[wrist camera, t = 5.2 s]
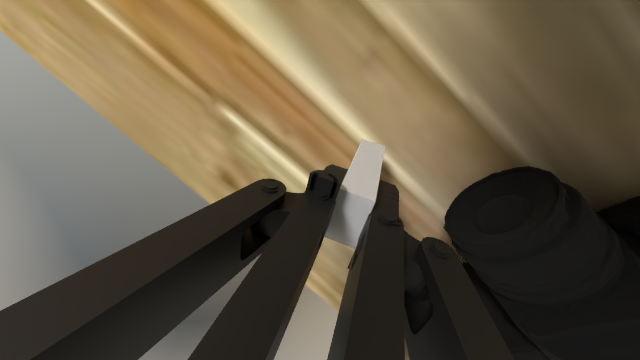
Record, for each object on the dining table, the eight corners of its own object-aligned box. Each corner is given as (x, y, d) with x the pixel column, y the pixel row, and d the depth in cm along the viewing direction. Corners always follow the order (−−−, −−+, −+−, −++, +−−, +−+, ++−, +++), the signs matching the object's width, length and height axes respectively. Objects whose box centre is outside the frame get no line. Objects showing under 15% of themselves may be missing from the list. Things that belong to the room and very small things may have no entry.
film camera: (649, 80, 11) (1183, 132, 4) (743, 219, 12) (1284, 478, 5) (390, 225, 19) (382, 338, 11) (464, 301, 20) (502, 449, 13)
